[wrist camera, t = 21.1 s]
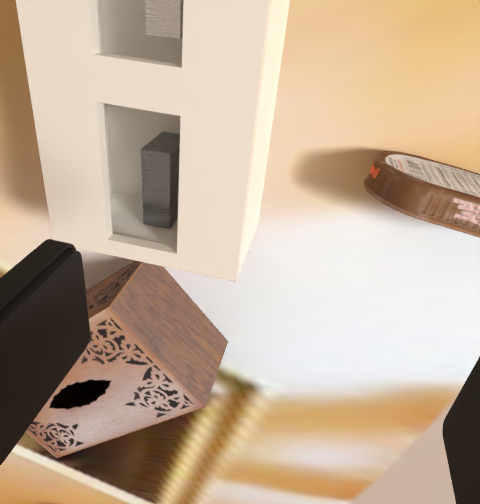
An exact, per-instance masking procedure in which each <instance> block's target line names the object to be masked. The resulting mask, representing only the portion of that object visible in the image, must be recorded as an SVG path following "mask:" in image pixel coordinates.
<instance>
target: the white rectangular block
mask: <svg viewBox="0 0 480 504" xmlns="http://www.w3.org/2000/svg"><path fill="white" fill-rule="evenodd" d="M289 3H290V0H184V4H183V38H182V39H176V38H168V37H160V36H152V35H146V7H145V0H16V6H17V12H18V19H19V25H20V32H21V38H22V45H23V51H24V58H25V64H26V71H27V77H28V83H29V90H30V96H31V103H32V109H33V116H34V122H35V129H36V135H37V142H38V148H39V154H40V161H41V167H42V174H43V180H44V187H45V193H46V200H47V206H48V213H49V219H50V226H51V232H52V238H53V240H56V241H61V242H66V243H70V244H73V245H74V246H75V248H79V249H84V250H89V251H93V252H98V253H103V254H107V255H112V256H117V257H121V258H126V259H131V260H135V261H140V262H145V263H149V264H154V265H159V266H163V267H168V268H173V269H177V270H182V271H187V272H191V273H196V274H201V275H205V276H210V277H215V278H219V279H224V280H229V281H233V282H236V280H237V278H238V275H239V273H240V270H241V267H242V265H243V262H244V260H245V257H246V255H247V252H248V250H249V247H250V244H251V242H252V239H253V237H254V234H255V232H256V229H257V226H258V223H259V215H260V208H261V201H262V194H263V187H264V180H265V173H266V166H267V159H268V152H269V145H270V137H271V130H272V123H273V116H274V109H275V102H276V95H277V88H278V81H279V74H280V67H281V59H282V52H283V45H284V38H285V31H286V24H287V17H288V10H289ZM162 132H169V133H175V134H180V156H179V193H178V219H177V220H176V221H175V223H174V224H173V225H172V227H171V228H170V229H166V228H161V227H156V226H151V225H146V224H143V200H142V171H141V148H143V147H144V146H145V145H146V144H148V143H149V142H150V141H152V140H153V139H154V138H155V137H157V136H158V135H159V134H160V133H162Z"/></svg>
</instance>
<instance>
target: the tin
mask: <svg viewBox="0 0 480 504" xmlns="http://www.w3.org/2000/svg"><path fill="white" fill-rule="evenodd" d="M364 186H365V188H366V190H367V191H368V192H369V193H370V194H371V195H372V196H373V197H375V198H376V199H377V200H379V201H380V202H382V203H384V204H386V205H387V206H389V207H391V208H393V209H395V210H397V211H400V212H402V213H404V214H407V215H409V216H412V217H415V218H418V219H421V220H424V221H427V222H430V223H434V224H437V225H440V226H444V227H447V228H450V229H453V230H457V231H460V232H463V233H467V234H470V235H473V236H476V237H479V238H480V174H478V173H474V172H471V171H468V170H465V169H462V168H458V167H455V166H451V165H448V164H444V163H441V162H437V161H434V160H430V159H427V158H423V157H420V156H416V155H411V154H407V153H402V152H393V151H388V152H382V153H380V154H379V155H378V156H377V157H376V158H375V160H374V162H373V164H372V167H371V169H370V172H369V174H368V177H367V178H366V179H365V180H364Z"/></svg>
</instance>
